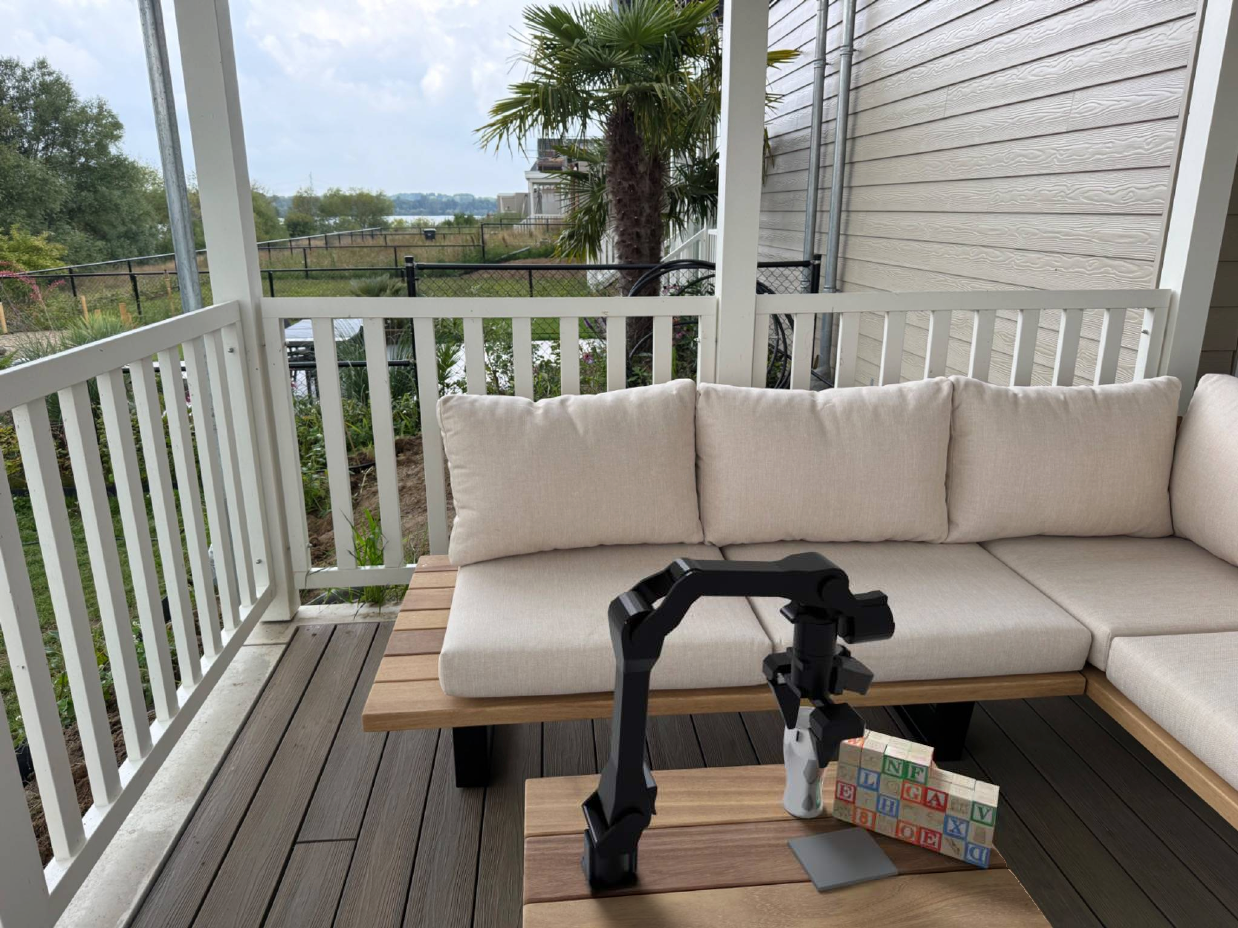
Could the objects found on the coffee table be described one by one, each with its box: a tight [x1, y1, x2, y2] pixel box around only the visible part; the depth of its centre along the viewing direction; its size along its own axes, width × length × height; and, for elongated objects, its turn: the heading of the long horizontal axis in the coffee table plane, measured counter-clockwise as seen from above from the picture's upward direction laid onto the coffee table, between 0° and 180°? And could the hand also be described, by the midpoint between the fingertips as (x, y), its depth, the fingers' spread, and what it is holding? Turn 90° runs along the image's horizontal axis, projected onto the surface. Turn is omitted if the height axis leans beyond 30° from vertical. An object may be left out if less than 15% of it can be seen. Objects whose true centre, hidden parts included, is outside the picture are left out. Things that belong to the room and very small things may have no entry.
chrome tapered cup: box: [781, 705, 829, 819], centre depth 121 cm, size 7×7×15 cm
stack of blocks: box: [832, 728, 1000, 869], centre depth 116 cm, size 21×6×12 cm, turn 61°
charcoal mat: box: [787, 826, 899, 892], centre depth 112 cm, size 12×9×1 cm
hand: (806, 747), depth 112 cm, fingers open, 9 cm apart
